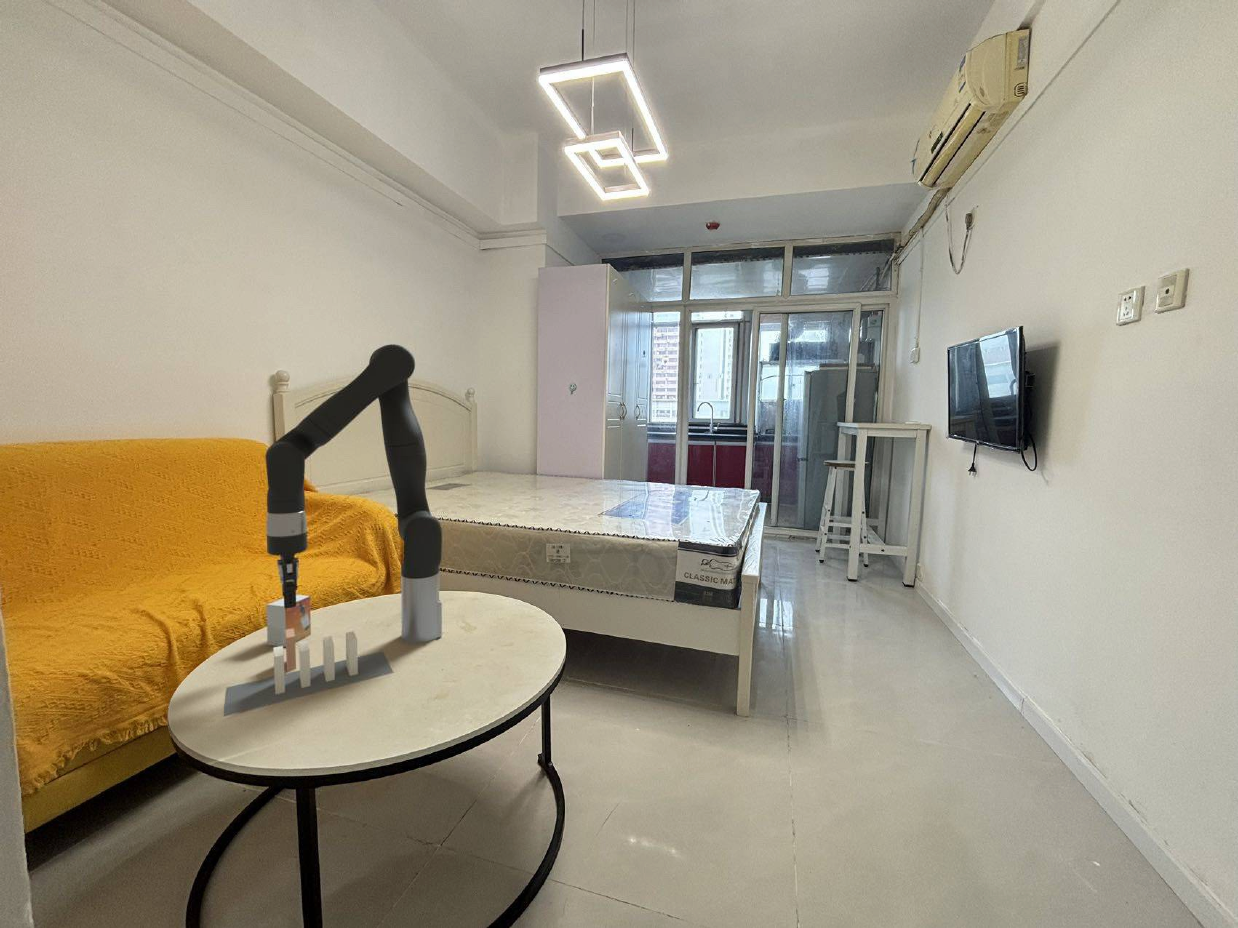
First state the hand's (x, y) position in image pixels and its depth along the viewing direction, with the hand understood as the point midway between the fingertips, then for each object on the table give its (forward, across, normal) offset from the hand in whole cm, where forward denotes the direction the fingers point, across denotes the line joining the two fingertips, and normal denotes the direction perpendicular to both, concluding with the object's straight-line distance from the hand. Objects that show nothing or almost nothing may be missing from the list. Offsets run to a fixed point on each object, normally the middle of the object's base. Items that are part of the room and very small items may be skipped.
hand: (289, 601), depth 112 cm
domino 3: (+15, -10, -2) cm, 18 cm away
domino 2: (+15, 0, 0) cm, 16 cm away
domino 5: (+15, -10, -11) cm, 21 cm away
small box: (+16, +16, -1) cm, 22 cm away
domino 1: (+15, -10, +2) cm, 18 cm away
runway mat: (+15, -10, -4) cm, 19 cm away
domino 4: (+15, -10, -7) cm, 19 cm away
